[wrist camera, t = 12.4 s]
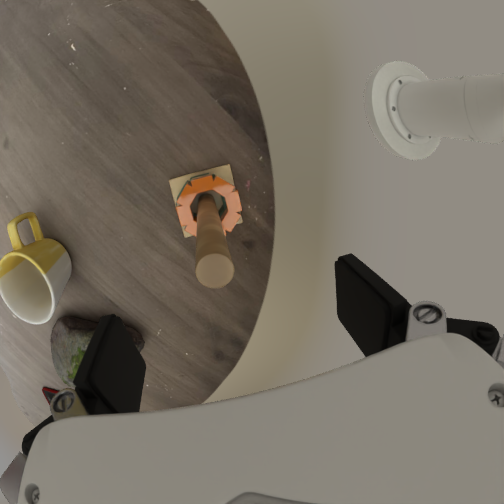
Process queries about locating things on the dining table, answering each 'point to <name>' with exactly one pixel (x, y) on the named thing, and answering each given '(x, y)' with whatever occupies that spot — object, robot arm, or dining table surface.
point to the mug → (33, 273)
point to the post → (209, 231)
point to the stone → (76, 345)
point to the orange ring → (202, 185)
